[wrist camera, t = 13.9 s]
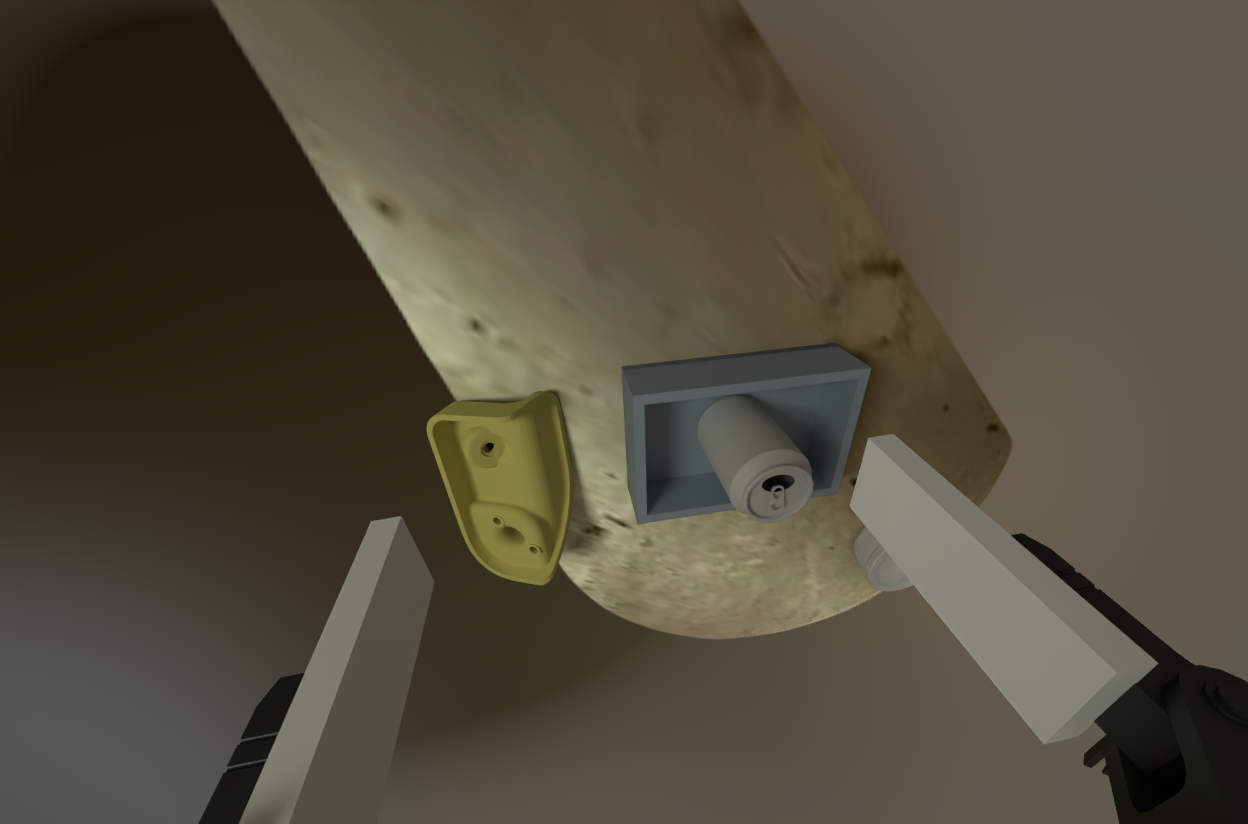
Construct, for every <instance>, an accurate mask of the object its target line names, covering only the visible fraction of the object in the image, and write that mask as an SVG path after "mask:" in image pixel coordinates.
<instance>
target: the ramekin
mask: <svg viewBox="0 0 1248 824" xmlns="http://www.w3.org/2000/svg"><path fill="white" fill-rule="evenodd" d="M854 553H855V556H856V558H857V560H858V561H859V563H860V565H861V567H862V569H863V571H864V572H865V576H866V579H867V580H868V582H869V583H870V584H871V585H872V587H874V588H876V589H878V590H882V591H895V590H900V589H904V588H907V587H910V586H912V585H913V583H912V582H911V581H910V580H909V579H908V577H907V576H906V575H905V574H904V572H903V571H902V570H901V569H900V568H899V566H898V565H897V564H896V563H895V561H894V560H893V559H892V558H891V557H890V555H889V554H888V553H887V552H886V550H885V549H884V548H883V547H882V545H881V544H880V543H879V542H878V541H877V539H876V538H875V537H874V536H873V534H872V533H871V532H870V531H869V530H868V528H867V527H866V526H864V527H863V528H862V529H861V530H860V532H859V533H858V534H857V536H856V538H855V542H854Z"/></svg>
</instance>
